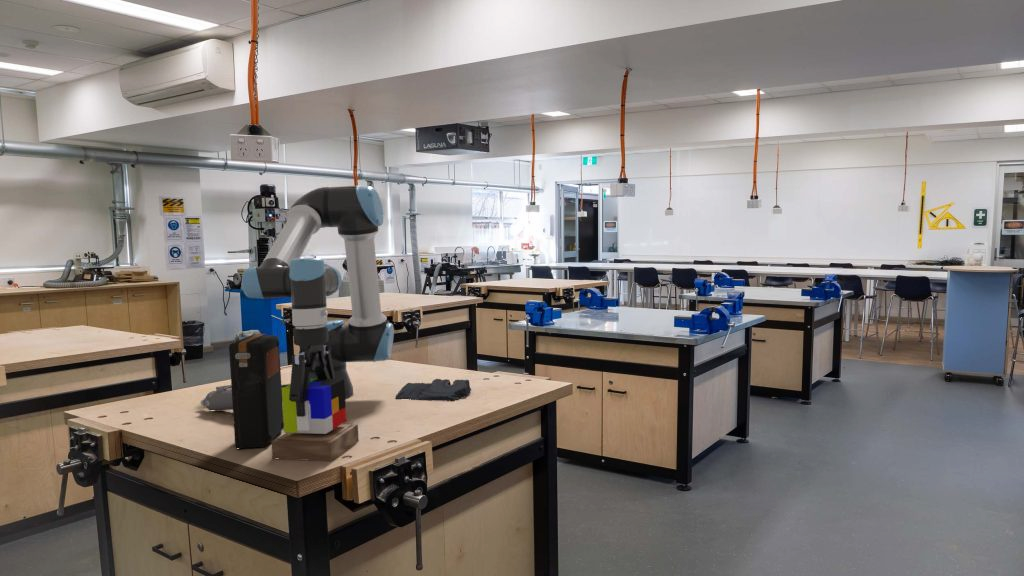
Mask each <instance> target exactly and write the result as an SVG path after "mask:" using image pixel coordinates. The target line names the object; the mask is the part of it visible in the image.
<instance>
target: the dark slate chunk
mask: <svg viewBox="0 0 1024 576" xmlns="http://www.w3.org/2000/svg"><path fill="white" fill-rule="evenodd" d="M450 381H451V380H450V379H441V378H435V379H433V380H432V382H431V383H430V382H428V383H426V382H407V383H405V385H403V386H402V388H401V389H400V390H399V391H398V392H397V393H396V395H395V400H401V399H409V400H410V399H411V400H410V401H432V400H447V401H446V402H455V400H456V401H459V400H458V399H461V398H462V397H463V398H465V397H468V396H469V395H470V394H469V393H471V392H470V391H471V390H472V388H471V386H470V380H469V379H455V380H454V381H453V382H450ZM451 383H452V384H451ZM464 396H465V397H464ZM463 398H462V399H463ZM462 399H461V400H462ZM449 400H450V401H449Z"/></svg>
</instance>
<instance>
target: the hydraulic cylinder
mask: <svg viewBox="0 0 1024 576" xmlns="http://www.w3.org/2000/svg"><path fill="white" fill-rule="evenodd" d="M288 385H290V383H287V384H281V387H282V388H283V387H286V386H288ZM200 404H201V405H202V406H204V407H205V408H206V409H207V410H208V411H210V410H223V411H230V410H232V411H233V403H232V387H231V384H230V385H229V384H227V385H219V386H215V390H213V391H212V390H211V391H209V392H208V393H207V394H206V396H205V397H204V398H202V400H201V401H200Z"/></svg>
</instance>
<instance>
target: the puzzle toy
mask: <svg viewBox="0 0 1024 576" xmlns="http://www.w3.org/2000/svg"><path fill="white" fill-rule="evenodd" d="M289 394H290V385H288V386H286V387H283V388H282V405H283V422H284V427H283V430H284V431H283V433H284V434H285V433H314V434H326V433H328V432H330V431H331V430H333V429H334V428H336V427H338V426H339V425H341V424H344V423H345V422H347V409H346V408H347V407H346V398H345V384H344V379H311V380H310V385H309V388H308V395H307V399H306V401H309V412H310V429H311V430H309V431H300V430H297V413H296V402H291V401H290V400H289Z"/></svg>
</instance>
